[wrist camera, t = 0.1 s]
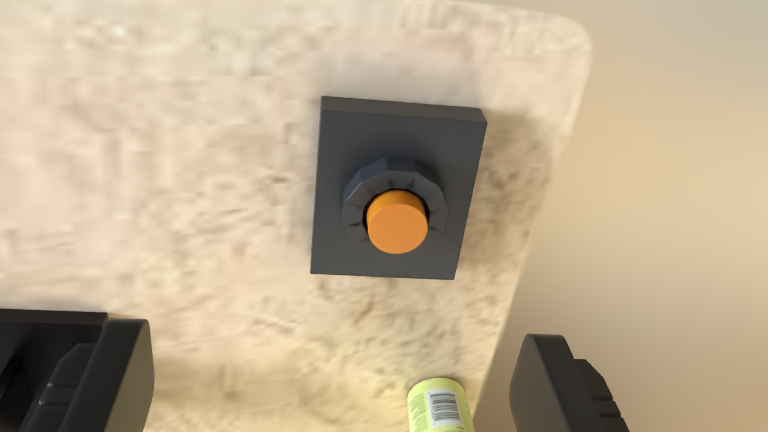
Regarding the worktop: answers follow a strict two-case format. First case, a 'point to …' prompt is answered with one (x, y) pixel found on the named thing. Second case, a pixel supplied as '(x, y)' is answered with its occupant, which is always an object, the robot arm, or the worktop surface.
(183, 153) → the worktop surface
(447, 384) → the tube
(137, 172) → the worktop surface
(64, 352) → the bracket
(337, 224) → the switchbox
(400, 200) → the button
